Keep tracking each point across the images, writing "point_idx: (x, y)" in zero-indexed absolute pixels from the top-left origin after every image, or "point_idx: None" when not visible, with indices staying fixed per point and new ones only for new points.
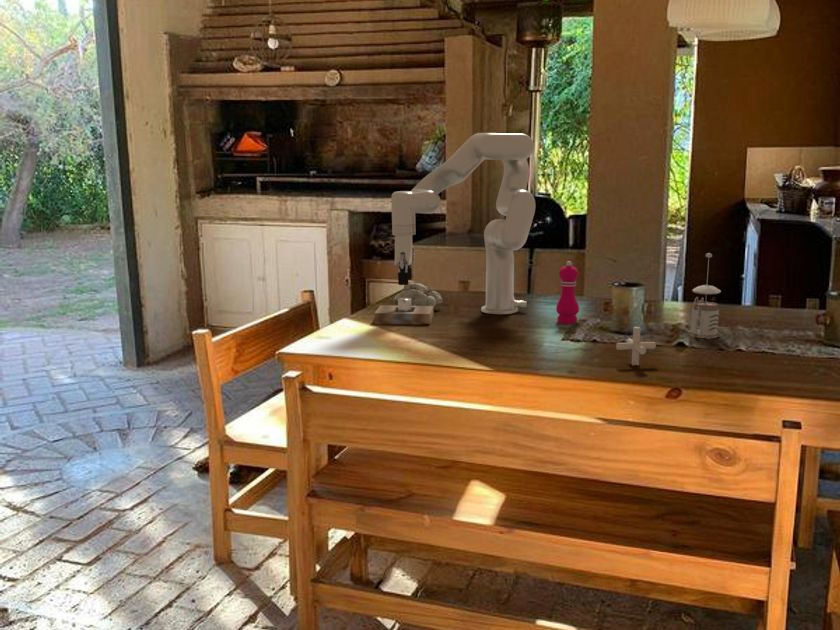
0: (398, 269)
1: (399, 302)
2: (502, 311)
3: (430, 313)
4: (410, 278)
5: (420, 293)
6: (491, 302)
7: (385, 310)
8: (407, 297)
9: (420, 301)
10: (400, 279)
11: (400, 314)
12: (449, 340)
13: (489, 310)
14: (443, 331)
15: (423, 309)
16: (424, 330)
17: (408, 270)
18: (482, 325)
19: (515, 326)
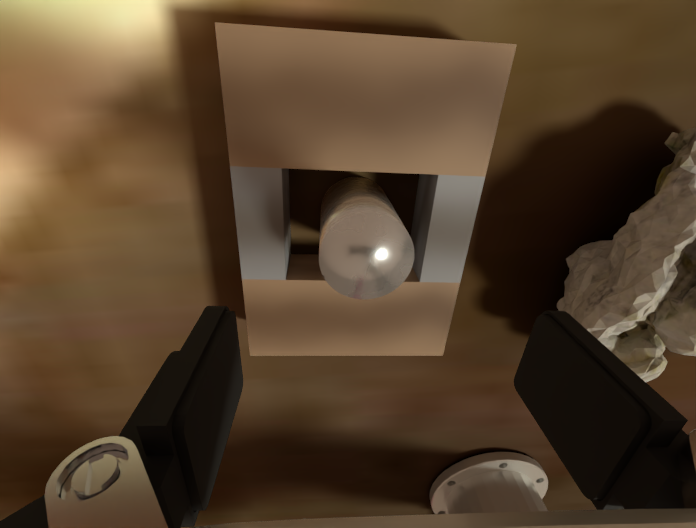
0: (44, 510)
1: (331, 220)
2: (432, 504)
3: (275, 353)
4: (519, 386)
5: (597, 322)
6: (469, 511)
7: (320, 107)
8: (628, 234)
9: (568, 294)
10: (159, 372)
11: (236, 215)
12: (3, 397)
13: (452, 479)
14: (146, 372)
15: (358, 322)
16: (141, 310)
17: (583, 453)
18: (273, 461)
19: (272, 518)
